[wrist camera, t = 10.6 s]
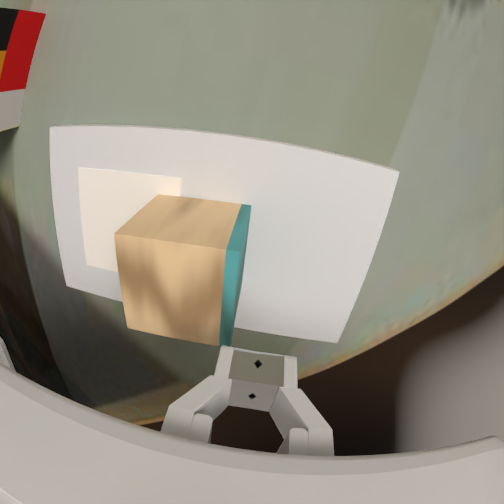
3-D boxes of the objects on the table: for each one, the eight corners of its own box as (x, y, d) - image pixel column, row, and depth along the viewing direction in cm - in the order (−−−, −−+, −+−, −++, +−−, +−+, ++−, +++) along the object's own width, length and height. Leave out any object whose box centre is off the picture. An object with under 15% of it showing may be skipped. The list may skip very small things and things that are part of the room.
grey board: (335, 334, 24) (337, 343, 23) (72, 280, 24) (66, 286, 23) (394, 168, 17) (399, 172, 16) (57, 125, 18) (48, 127, 17)
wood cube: (229, 348, 16) (127, 327, 16) (241, 286, 21) (159, 273, 21) (239, 251, 13) (114, 233, 13) (251, 205, 18) (157, 194, 18)
